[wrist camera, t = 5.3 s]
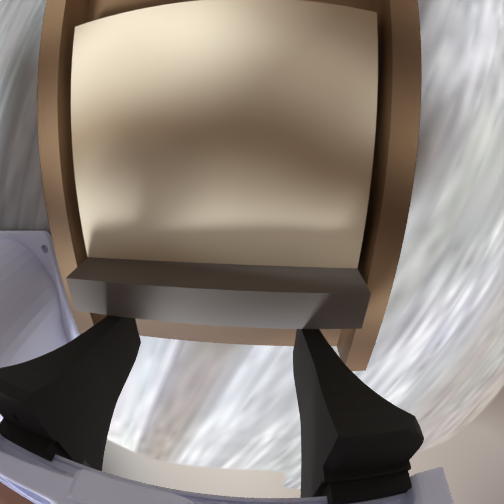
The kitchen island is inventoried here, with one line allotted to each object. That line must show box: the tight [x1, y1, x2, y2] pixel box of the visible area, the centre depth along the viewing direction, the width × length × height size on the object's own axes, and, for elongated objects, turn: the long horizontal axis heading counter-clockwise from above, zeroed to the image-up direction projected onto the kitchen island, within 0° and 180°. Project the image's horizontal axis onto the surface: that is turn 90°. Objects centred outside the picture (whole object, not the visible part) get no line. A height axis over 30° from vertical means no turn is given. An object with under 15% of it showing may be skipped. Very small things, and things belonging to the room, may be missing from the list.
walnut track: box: [37, 0, 421, 371], centre depth 9 cm, size 28×15×4 cm, turn 179°
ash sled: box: [66, 0, 378, 329], centre depth 10 cm, size 12×12×4 cm
